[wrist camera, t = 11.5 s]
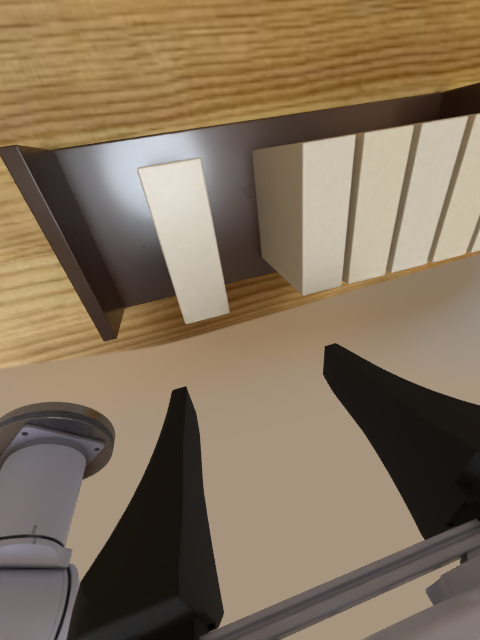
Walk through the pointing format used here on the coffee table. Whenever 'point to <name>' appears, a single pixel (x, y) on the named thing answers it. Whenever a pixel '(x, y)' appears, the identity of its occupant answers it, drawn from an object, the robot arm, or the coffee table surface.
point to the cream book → (186, 236)
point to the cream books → (369, 202)
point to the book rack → (222, 186)
